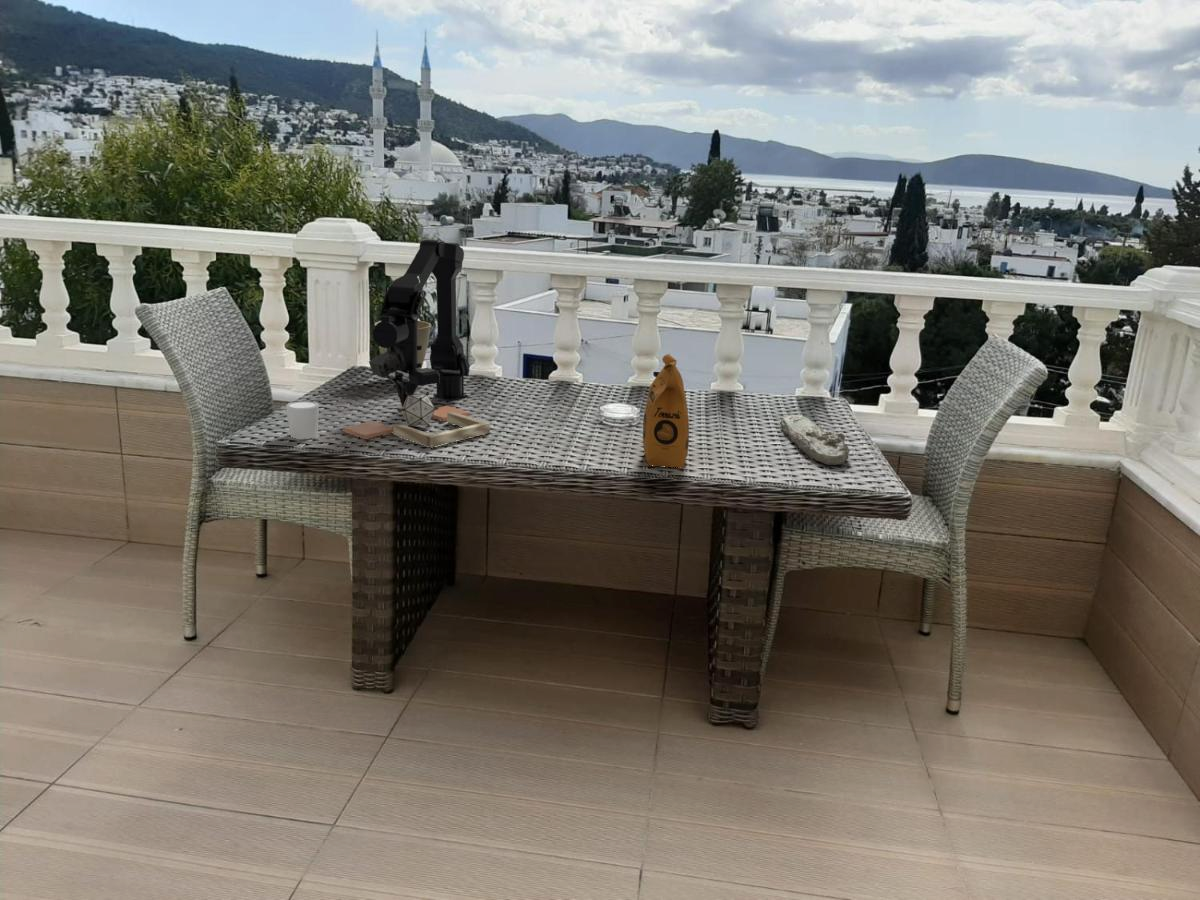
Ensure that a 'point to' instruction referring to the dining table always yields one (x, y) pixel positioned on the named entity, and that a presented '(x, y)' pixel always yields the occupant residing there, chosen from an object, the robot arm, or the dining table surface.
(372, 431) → the tile
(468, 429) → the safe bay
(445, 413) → the tile
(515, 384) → the dining table surface
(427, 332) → the plant pot
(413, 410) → the game die
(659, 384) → the coffee package
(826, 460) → the elongated rock
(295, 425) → the shot glass
